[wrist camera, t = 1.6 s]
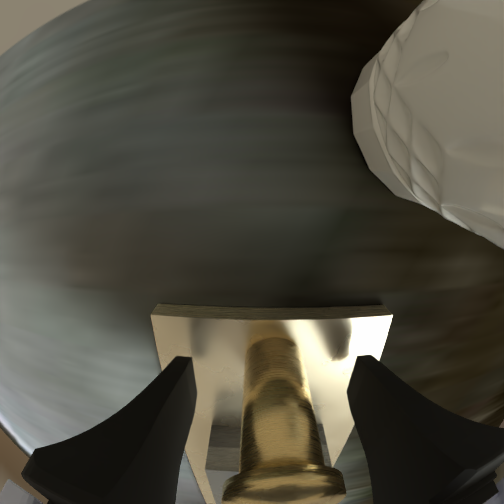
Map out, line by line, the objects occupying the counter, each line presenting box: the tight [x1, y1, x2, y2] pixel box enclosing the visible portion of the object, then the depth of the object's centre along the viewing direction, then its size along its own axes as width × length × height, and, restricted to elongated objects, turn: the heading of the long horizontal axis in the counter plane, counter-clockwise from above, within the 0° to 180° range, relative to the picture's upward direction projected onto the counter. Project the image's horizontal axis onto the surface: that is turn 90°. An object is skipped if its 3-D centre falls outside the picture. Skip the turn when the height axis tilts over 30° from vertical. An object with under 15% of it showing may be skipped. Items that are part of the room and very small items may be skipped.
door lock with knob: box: [151, 304, 393, 504], centre depth 13 cm, size 25×10×5 cm, turn 179°
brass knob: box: [221, 337, 346, 504], centre depth 8 cm, size 3×3×7 cm
